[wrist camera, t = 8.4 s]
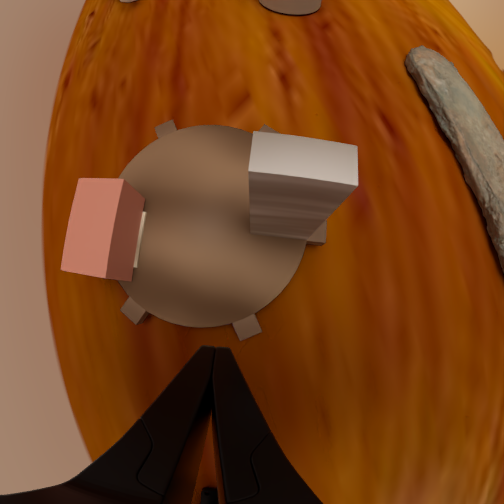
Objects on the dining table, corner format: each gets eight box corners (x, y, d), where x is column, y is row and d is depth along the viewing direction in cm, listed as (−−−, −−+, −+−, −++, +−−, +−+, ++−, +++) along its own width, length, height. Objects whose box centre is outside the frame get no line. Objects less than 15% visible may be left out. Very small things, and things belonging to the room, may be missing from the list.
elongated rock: (432, 63, 28) (379, 69, 28) (446, 38, 22) (390, 39, 23) (549, 303, 21) (509, 344, 21) (577, 300, 16) (540, 348, 16)
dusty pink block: (145, 198, 20) (124, 178, 16) (131, 281, 19) (105, 278, 15) (105, 196, 20) (79, 178, 16) (91, 274, 19) (60, 269, 16)
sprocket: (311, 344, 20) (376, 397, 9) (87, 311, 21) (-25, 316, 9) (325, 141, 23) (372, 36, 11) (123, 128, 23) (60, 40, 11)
